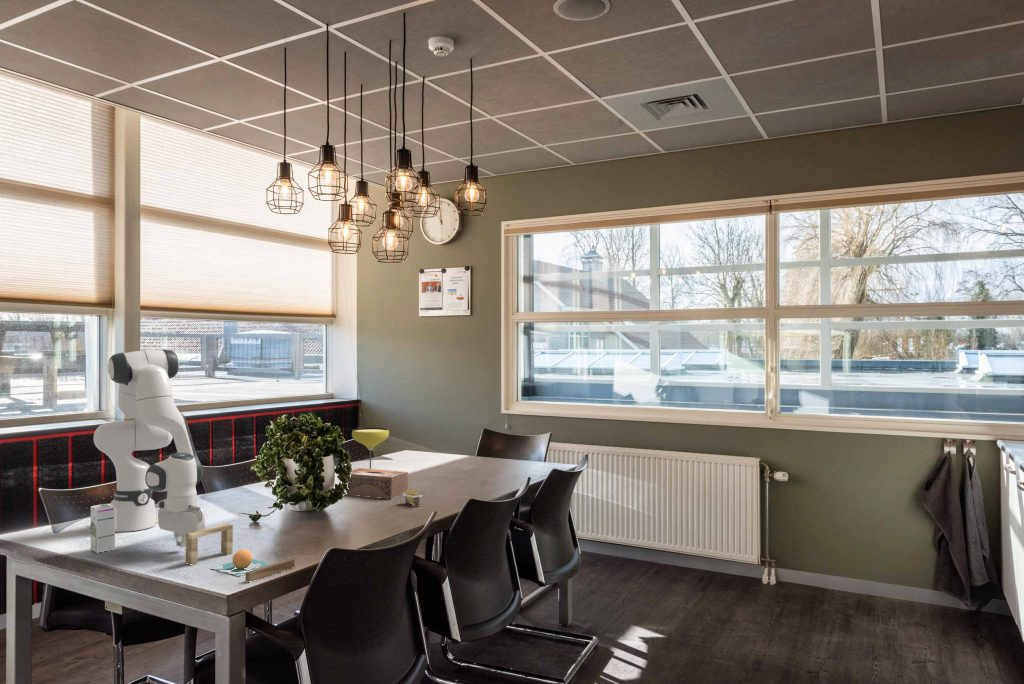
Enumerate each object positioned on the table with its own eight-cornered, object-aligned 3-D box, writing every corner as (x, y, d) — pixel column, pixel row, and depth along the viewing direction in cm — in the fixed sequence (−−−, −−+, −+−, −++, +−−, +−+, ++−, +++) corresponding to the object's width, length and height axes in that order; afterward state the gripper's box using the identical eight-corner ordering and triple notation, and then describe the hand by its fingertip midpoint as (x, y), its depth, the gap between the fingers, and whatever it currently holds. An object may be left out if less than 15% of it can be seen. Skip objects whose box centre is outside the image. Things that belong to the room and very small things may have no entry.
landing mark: (210, 569, 211) (210, 568, 211) (246, 558, 222) (246, 557, 222) (238, 576, 204) (238, 576, 204) (274, 565, 215) (274, 564, 215)
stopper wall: (245, 581, 200) (245, 572, 200) (289, 566, 214) (290, 558, 214) (250, 582, 199) (250, 573, 199) (294, 567, 213) (294, 559, 213)
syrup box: (115, 550, 230) (116, 505, 230) (95, 554, 226) (96, 508, 226) (109, 546, 234) (109, 502, 234) (89, 550, 229) (90, 505, 229)
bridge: (185, 563, 216) (185, 533, 216) (226, 552, 229) (226, 523, 229) (191, 565, 215) (191, 535, 215) (232, 553, 227) (232, 524, 227)
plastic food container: (416, 512, 287) (416, 495, 287) (385, 505, 298) (385, 490, 298) (436, 506, 297) (436, 491, 297) (405, 501, 308) (405, 486, 308)
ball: (230, 572, 210) (227, 553, 211) (245, 567, 215) (242, 549, 216) (242, 569, 208) (238, 550, 209) (257, 565, 212) (254, 546, 213)
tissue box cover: (341, 495, 318) (341, 473, 318) (359, 489, 331) (359, 468, 331) (391, 500, 308) (391, 477, 308) (407, 493, 322) (407, 471, 322)
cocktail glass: (393, 481, 350) (394, 430, 350) (358, 484, 341) (358, 432, 341) (381, 475, 366) (381, 427, 366) (347, 478, 357) (347, 428, 357)
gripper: (210, 505, 226) (210, 548, 226) (172, 498, 237) (171, 539, 237) (192, 509, 221) (192, 553, 221) (154, 501, 232) (154, 543, 232)
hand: (181, 546), depth 229 cm, fingers closed
